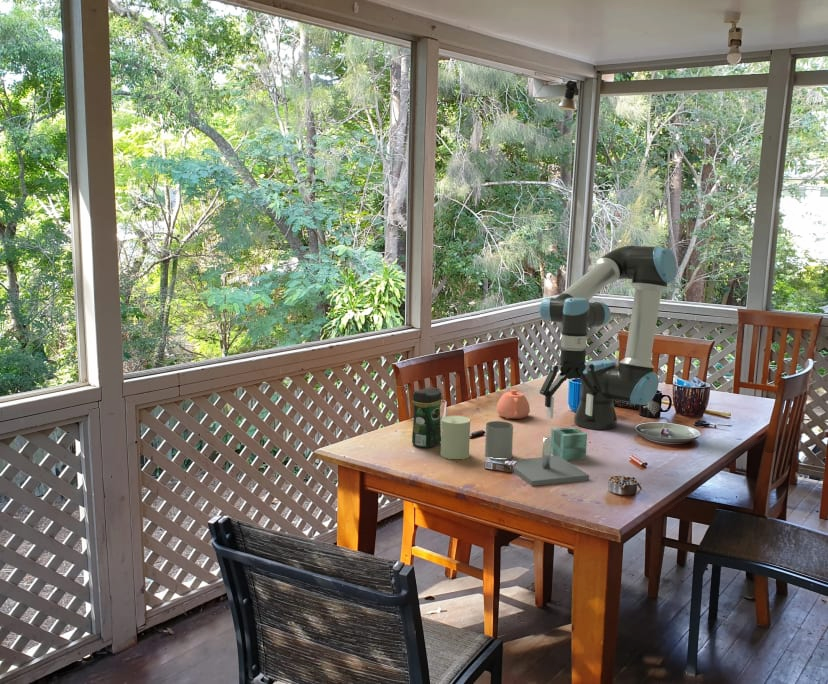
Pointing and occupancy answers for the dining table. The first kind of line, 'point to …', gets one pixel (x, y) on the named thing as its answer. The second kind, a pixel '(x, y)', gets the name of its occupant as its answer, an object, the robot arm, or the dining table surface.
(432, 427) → the coffee jar
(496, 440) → the cup
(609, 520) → the dining table surface
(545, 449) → the rod
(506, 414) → the sugar bowl
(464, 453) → the can
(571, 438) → the bead
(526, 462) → the board
